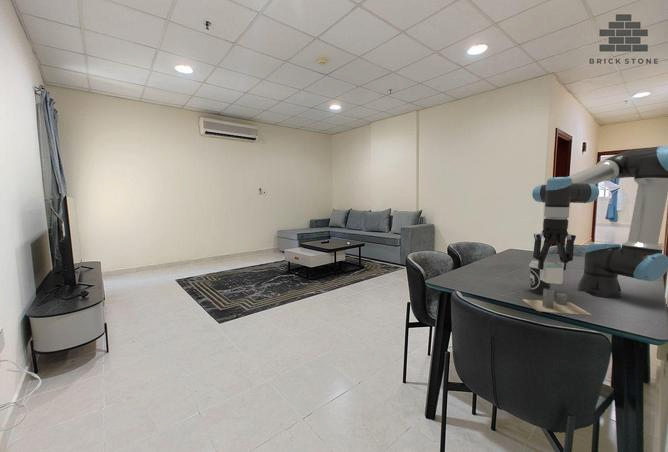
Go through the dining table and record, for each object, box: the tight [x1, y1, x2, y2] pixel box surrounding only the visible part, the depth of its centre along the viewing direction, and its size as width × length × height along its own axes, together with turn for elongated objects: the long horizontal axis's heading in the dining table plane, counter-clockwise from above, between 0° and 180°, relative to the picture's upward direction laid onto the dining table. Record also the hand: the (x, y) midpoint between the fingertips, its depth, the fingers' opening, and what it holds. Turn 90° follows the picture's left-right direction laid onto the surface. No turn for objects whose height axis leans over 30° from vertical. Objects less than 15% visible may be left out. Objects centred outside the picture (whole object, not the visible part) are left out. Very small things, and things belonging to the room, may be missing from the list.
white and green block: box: [540, 262, 564, 285], centre depth 112 cm, size 5×5×7 cm
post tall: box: [542, 288, 556, 308], centre depth 114 cm, size 3×3×7 cm
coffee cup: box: [528, 260, 554, 296], centre depth 131 cm, size 10×10×15 cm
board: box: [521, 298, 593, 316], centre depth 114 cm, size 18×13×1 cm
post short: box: [555, 292, 568, 305], centre depth 117 cm, size 3×3×4 cm
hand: (550, 277), depth 112 cm, fingers closed on white and green block, 5 cm apart
